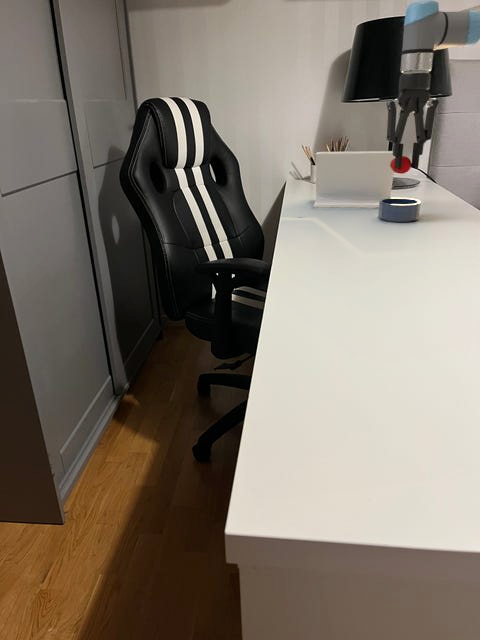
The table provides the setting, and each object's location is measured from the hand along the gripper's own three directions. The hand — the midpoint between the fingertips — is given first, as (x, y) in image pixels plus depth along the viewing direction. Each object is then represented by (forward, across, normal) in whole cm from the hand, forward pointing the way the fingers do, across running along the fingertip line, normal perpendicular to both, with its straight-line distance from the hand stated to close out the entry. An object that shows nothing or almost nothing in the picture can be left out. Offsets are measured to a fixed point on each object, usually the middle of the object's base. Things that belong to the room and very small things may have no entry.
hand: (406, 168), depth 136 cm
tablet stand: (+15, +4, -31) cm, 34 cm away
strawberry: (-1, 0, 0) cm, 1 cm away
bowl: (+14, 0, -3) cm, 15 cm away
